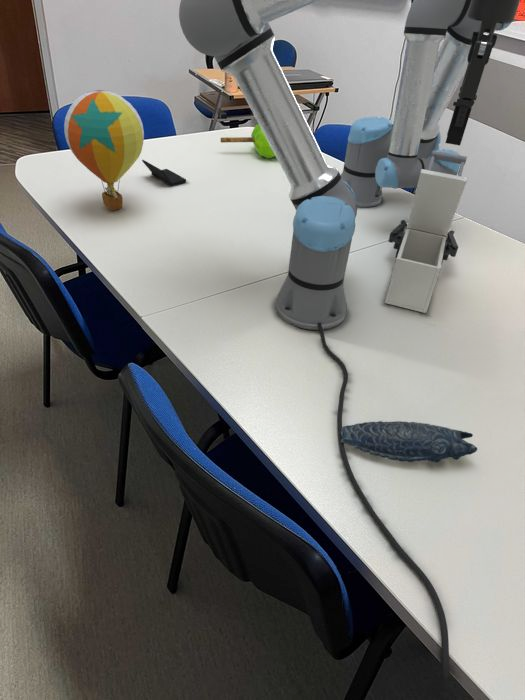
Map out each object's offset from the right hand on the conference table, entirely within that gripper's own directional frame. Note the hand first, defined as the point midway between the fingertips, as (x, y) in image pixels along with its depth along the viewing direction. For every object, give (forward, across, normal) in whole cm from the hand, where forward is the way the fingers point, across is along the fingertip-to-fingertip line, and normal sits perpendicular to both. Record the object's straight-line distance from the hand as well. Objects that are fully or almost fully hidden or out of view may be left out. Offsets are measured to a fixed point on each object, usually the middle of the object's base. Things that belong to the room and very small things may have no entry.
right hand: (419, 257), depth 122 cm
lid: (+1, 0, +13) cm, 13 cm away
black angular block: (-26, +82, -6) cm, 86 cm away
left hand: (+7, 0, +29) cm, 30 cm away
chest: (+5, 0, -6) cm, 8 cm away
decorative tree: (-66, +64, -6) cm, 92 cm away
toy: (0, +84, -6) cm, 84 cm away
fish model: (+55, -5, -6) cm, 56 cm away
